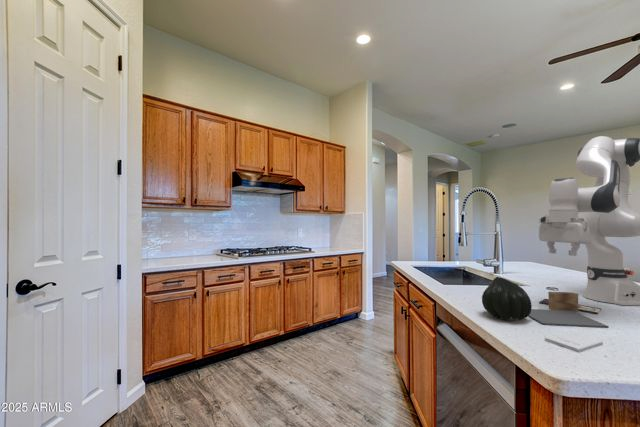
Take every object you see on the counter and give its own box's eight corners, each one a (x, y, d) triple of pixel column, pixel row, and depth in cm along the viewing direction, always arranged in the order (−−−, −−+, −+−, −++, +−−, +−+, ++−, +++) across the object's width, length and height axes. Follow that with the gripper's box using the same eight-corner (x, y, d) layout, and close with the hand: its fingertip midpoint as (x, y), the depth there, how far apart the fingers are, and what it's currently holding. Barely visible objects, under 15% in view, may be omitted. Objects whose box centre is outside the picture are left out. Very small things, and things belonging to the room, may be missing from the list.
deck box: (573, 310, 114) (573, 292, 114) (578, 312, 111) (578, 294, 111) (548, 309, 115) (548, 291, 115) (552, 311, 112) (552, 293, 112)
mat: (572, 312, 111) (572, 310, 111) (608, 328, 95) (608, 326, 95) (516, 309, 113) (516, 308, 113) (542, 324, 97) (542, 323, 97)
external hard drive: (602, 346, 82) (578, 354, 77) (568, 336, 90) (544, 342, 85) (602, 341, 82) (578, 348, 77) (568, 330, 90) (544, 337, 85)
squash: (546, 311, 94) (525, 271, 105) (499, 312, 95) (482, 272, 105) (526, 328, 105) (508, 290, 115) (484, 328, 106) (470, 291, 116)
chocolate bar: (545, 298, 128) (601, 308, 114) (545, 300, 128) (601, 311, 114) (538, 302, 122) (597, 313, 108) (538, 304, 122) (597, 315, 108)
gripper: (596, 218, 102) (595, 257, 101) (551, 219, 122) (550, 252, 121) (577, 217, 102) (576, 256, 101) (536, 218, 122) (535, 251, 122)
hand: (562, 254), depth 111 cm, fingers open, 8 cm apart
